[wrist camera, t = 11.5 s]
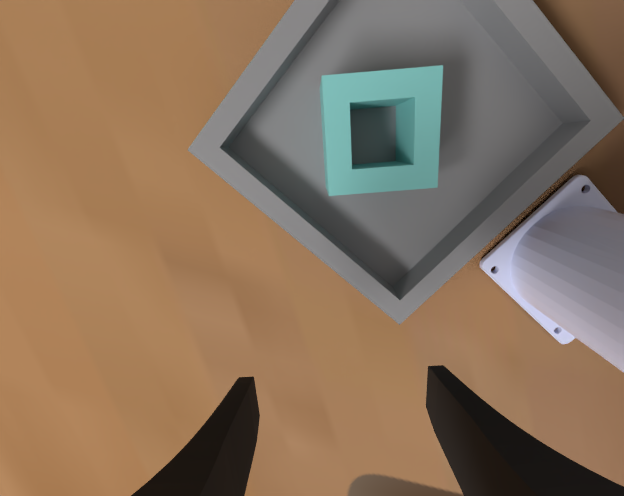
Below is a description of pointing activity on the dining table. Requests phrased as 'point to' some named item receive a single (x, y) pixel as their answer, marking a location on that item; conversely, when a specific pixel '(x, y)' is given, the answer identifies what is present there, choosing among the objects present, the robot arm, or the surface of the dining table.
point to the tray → (382, 133)
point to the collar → (409, 129)
